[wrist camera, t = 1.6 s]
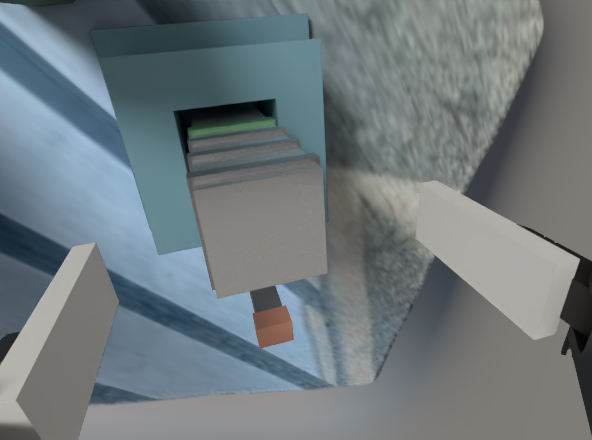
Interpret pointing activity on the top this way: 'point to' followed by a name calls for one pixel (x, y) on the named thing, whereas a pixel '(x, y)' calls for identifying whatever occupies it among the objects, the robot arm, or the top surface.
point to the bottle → (37, 2)
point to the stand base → (204, 93)
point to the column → (254, 200)
